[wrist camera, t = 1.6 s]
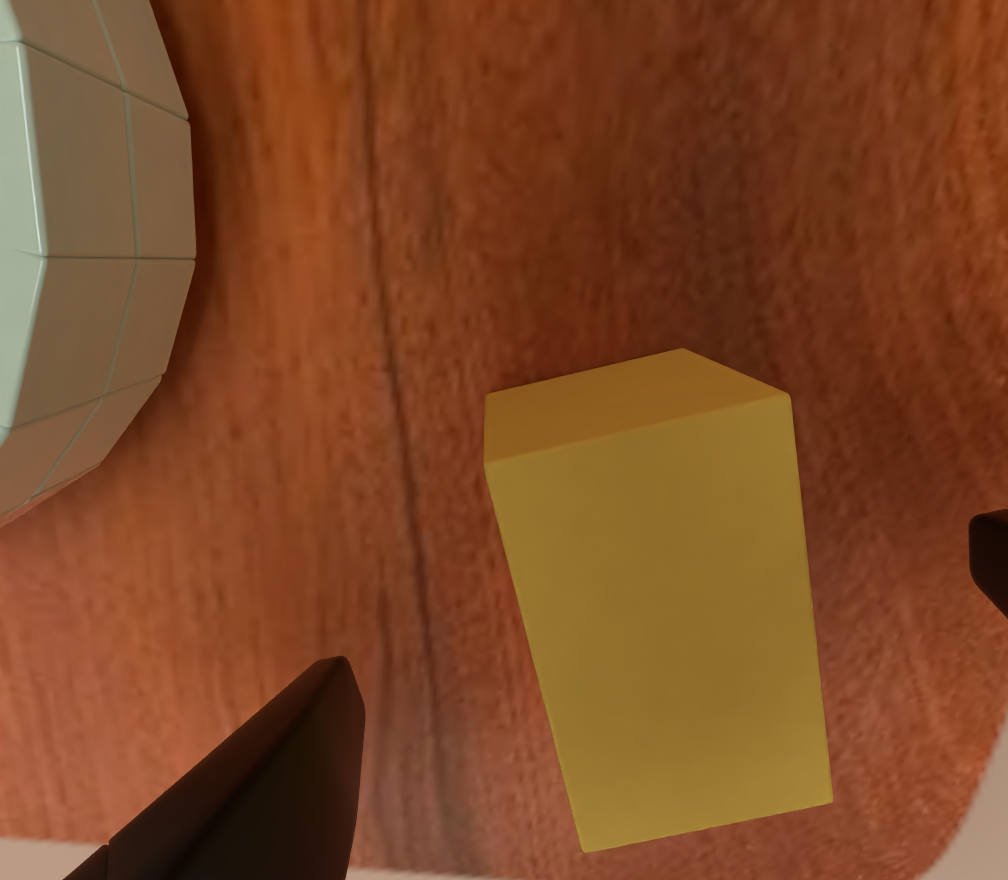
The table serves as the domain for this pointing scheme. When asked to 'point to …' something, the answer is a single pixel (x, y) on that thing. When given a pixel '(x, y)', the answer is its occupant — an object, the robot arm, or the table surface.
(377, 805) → the table surface
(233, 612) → the table surface
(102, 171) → the bowl
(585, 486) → the sponge
